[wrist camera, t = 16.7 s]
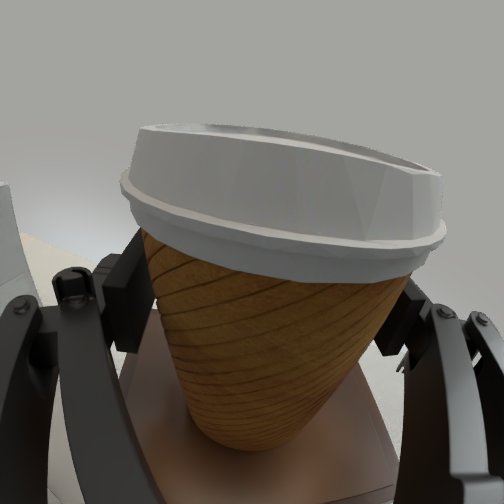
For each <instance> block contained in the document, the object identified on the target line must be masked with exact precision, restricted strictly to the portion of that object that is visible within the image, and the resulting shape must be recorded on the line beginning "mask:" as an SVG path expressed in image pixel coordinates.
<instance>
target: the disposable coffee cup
mask: <svg viewBox="0 0 504 504" xmlns="http://www.w3.org/2000/svg"><path fill="white" fill-rule="evenodd" d="M120 185H121V192H122V194H123V195H124V196H125V197H126V198H127V199H128V200H129V201H130V208H131V212H132V214H133V216H134V218H135V220H136V222H137V224H138V225H139V226H140V227H141V232H142V237H143V242H144V249H145V253H146V258H147V263H148V265H149V266H148V270H149V274H150V278H151V281H152V283H153V284H152V288H153V291H154V295H155V298H156V299H157V301H156V305H157V308H158V312H159V314H161V317H160V320H161V323H162V326H163V328H164V334H165V338H166V341H168V342H167V345H168V348H169V351H170V353H171V358H172V361H173V363H174V368H175V371H176V373H177V377H178V380H179V382H180V386H181V388H182V390H183V394H184V397H185V400H186V403H187V405H188V409H189V412H190V415H191V416H192V418H193V420H194V422H195V423H196V425H197V426H198V427H199V428H200V430H201V431H202V432H203V433H204V434H206V435H207V436H208V437H210V438H211V439H212V440H214V441H216V442H218V443H220V444H222V445H224V446H226V447H229V448H233V449H237V450H243V451H263V450H269V449H272V448H275V447H278V446H281V445H284V444H285V443H287V442H289V441H290V440H292V439H294V438H295V437H296V436H297V435H298V434H299V433H300V432H301V431H302V430H303V429H304V427H305V426H306V425H307V424H308V423H309V422H310V421H311V419H312V418H313V417H314V416H315V415H316V414H317V413H318V411H319V410H320V409H321V408H322V407H323V406H324V404H325V403H326V402H327V401H328V400H329V398H330V397H331V396H332V395H333V394H334V392H335V391H336V390H337V388H338V387H339V386H340V385H341V383H342V382H343V381H344V379H345V378H346V377H347V375H348V374H349V373H350V371H351V370H352V368H353V367H354V366H355V365H356V363H357V362H358V361H359V359H360V357H361V356H362V355H363V353H364V352H365V351H366V349H367V348H368V346H369V345H370V343H371V342H372V340H373V339H374V337H375V336H376V334H377V332H378V331H379V329H380V328H381V326H382V325H383V323H384V322H385V320H386V318H387V316H388V315H389V313H390V311H391V310H392V308H393V307H394V305H395V303H396V301H397V299H398V297H399V296H400V294H401V292H402V291H403V289H404V287H405V285H406V283H407V281H408V279H409V278H410V276H411V274H412V272H413V271H414V270H416V269H417V268H419V267H420V266H422V265H424V263H425V261H426V259H427V257H428V255H429V253H430V251H433V250H435V249H436V248H437V247H438V246H439V245H440V244H441V243H442V242H443V240H444V238H445V236H446V234H447V231H446V224H445V222H444V221H443V219H442V218H441V207H442V188H443V176H442V175H441V174H440V173H438V172H436V171H434V170H433V169H430V168H428V167H425V166H422V165H420V164H417V163H415V162H412V161H409V160H406V159H403V158H400V157H397V156H394V155H391V154H388V153H384V152H381V151H377V150H374V149H370V148H366V147H362V146H358V145H354V144H350V143H345V142H341V141H337V140H332V139H327V138H322V137H317V136H312V135H306V134H300V133H294V132H288V131H280V130H273V129H263V128H255V127H245V126H232V125H214V124H162V125H151V126H143V127H141V128H140V130H139V134H138V138H137V141H136V146H135V150H134V154H133V158H132V162H131V167H129V168H128V169H127V170H126V171H124V172H123V173H122V174H121V178H120Z"/></svg>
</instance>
